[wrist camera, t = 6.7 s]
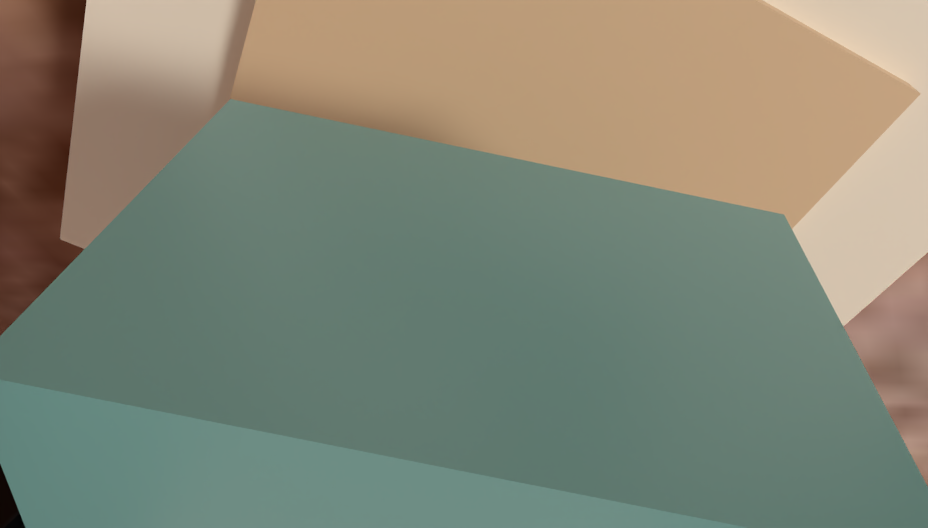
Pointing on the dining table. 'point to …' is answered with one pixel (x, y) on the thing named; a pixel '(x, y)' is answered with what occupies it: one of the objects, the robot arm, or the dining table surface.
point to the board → (550, 100)
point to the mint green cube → (437, 353)
